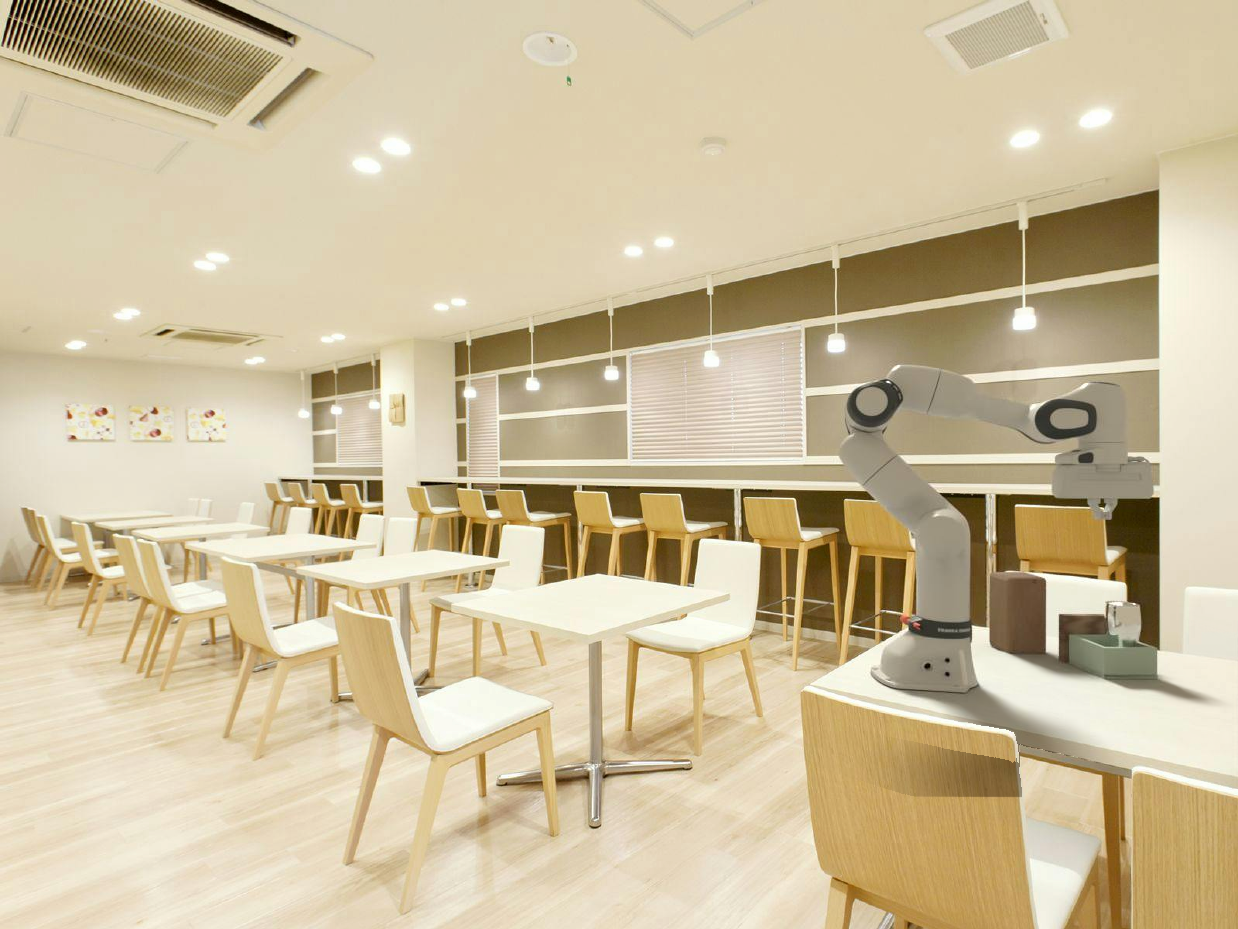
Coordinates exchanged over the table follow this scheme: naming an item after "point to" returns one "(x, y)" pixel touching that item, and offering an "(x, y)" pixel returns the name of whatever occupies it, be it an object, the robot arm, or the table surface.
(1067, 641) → the box
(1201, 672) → the table surface
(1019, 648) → the wooden block
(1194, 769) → the table surface
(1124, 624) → the beer glass
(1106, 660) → the sage green storage bin
